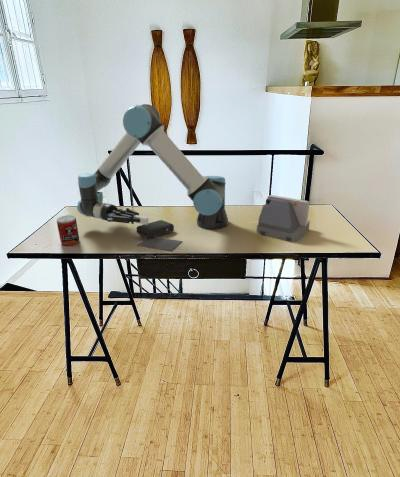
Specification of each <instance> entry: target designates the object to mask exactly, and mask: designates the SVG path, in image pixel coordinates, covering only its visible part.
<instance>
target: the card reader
mask: <svg viewBox="0 0 400 477" xmlns="http://www.w3.org/2000/svg"><path fill="white" fill-rule="evenodd" d="M174 230H175V226H174V224H173V223H171V222H168V221H166V220H163V219H161V220H160V219H159V220H156V221H151V222H149V224H147V225H145V224H141V225H138V226H136V229H135V231H136V234H138V235H140V236H142V237H144V238H152V237H159V236H163V235H165V234H170V233H173V232H174Z"/></svg>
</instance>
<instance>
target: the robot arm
mask: <svg viewBox="0 0 400 477" xmlns="http://www.w3.org/2000/svg"><path fill="white" fill-rule="evenodd" d="M122 125H123V128H124V131H125V132H126V133H124V135H123V136H122V138H121V139H120V141H118V142H117V143H116V144H115V147H114V148H113V149H112V151H111V152H110V153H109V155H107V157H106V158H105V159H104V161H103V162H102V163H101V164H100V166H99V167H98V168H97V170H96V171H95V172H94V173H90V172H89V173H88V172H87V173H82V174H79V175H78V176H77V182H78V183H77V184H78V190H79V194H80V200H78V202H77V206H76V208H77V211H78V213H79V214H81V215H83V216H86V217H89V218H90V217H91V218H94V219H95V218H96V219H99V220H102V221H106V222H109V223H110V222H111V223H113V222H115V223H119V224H120V223H121V224H131V225H134V224H135V223H137V224H141V225H144V224H145V225H147V224H149V223H150V222H149V217H147V216H143V215H140V213H139V212H137V211H135V210H132V209H130V208H129V207H126V208H125V209H124V210H123V209H122V208H118V207H117V206H116V205H115V204H112V203H106V202H103V201H102V202H98V193H97V192H100V191H101V190H102V189H103V188H105V187H107V186H108V185H109V184H110V183H111V180H112V178H113V177H114V176H115V175H116V174H117V172H118V171H119V170H120V169H121V168H122V166H123V165H124V164H125V163H126V161H127V160H128V159H129V158H130V157H131V156H132V155H133V153H134V152H135V151H136V150H137V148H138V147H139V146H140V145H142V146H147V147H149V149H151V150H152V152H153V153H154V154H155V155H156V156H157V157H158V158H159V160H160V161H161V162H162V163H163V164H164V165H165V166H166V167H167V168H168V170H169V171H170V172H171V173H172V174H173V175H174V176H175V178H176V179H177V180H178V181H179V182H180V183H181V184H182V186H183V187H184V188H185V189H186V190H187V192H186V195H187V197H189V199H190V200H191V202H192V206H193V207H194V209H195V211H196V212H197V213H198V215H197V218H196V225H197V226H198V227H200V228H202V229H206V230H217V229H222V228H225V227H227V226H228V225H229V218H228V214H227V211H226V178H225V177H224V176H221V175H220V176H218V175H204V176H203V175H202V174H201V172H199V170H198V169H197V168H196V167H195V166H194V165H193V164H192V162H191V161H190V160H189V159H188V158H187V157H186V156H185V154H184V153H183V152H182V151H181V149H180V148H179V147H178V146H177V145H176V144H175V142H174V141H173V140H172V138H170V136H168V134H167V133H166V132H165V126H164V124H163V123H162V122H161V115H160V113H159V111H158V109H157V108H156V107H155V106H153V105H151V104H146V103H143V104H135V105H132V106H131V107H129V108H128V109H126V111H124V114H123V117H122Z"/></svg>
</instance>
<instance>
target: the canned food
mask: <svg viewBox="0 0 400 477" xmlns="http://www.w3.org/2000/svg"><path fill="white" fill-rule="evenodd" d="M56 225H57V230H58V235H59V240H60V244H61V245H62V246H66V247H71V246H74V245H77V244H78V243H79V242H80V235H79V228H78V223H77V218H76V216H75V215H63V216H62V215H61V216H58V217H57V218H56Z"/></svg>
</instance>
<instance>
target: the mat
mask: <svg viewBox="0 0 400 477" xmlns="http://www.w3.org/2000/svg"><path fill="white" fill-rule="evenodd" d="M182 242H183V240H178V239H171V238H166V237H165V238H164V237H159V236H155V237H152V238H147V237H145V238H144V239H143V240H141V241H140V242H139V243H137V245H136V246H137V247H144V248H149V249H155V250H162V251H166V252H167V251H168V252H173V251H174V250H175V249H176V248H177V247H178V246H179V245H181V243H182Z"/></svg>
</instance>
